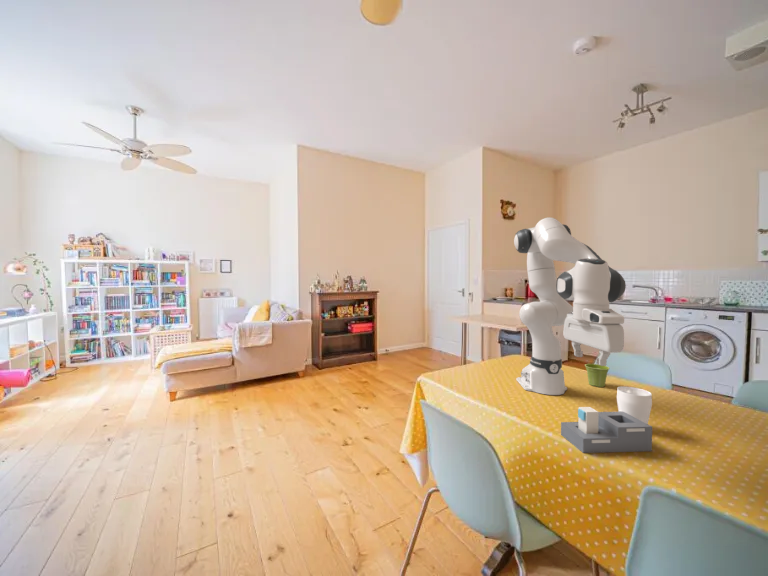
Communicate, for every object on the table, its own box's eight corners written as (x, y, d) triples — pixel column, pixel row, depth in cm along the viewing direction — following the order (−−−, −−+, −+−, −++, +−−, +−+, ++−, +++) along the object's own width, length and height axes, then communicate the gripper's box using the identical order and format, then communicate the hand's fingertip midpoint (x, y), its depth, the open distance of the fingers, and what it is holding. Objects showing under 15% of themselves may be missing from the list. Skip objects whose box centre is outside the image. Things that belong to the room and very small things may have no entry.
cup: (616, 418, 108) (617, 384, 107) (650, 426, 102) (651, 390, 102) (615, 427, 101) (616, 391, 100) (651, 436, 95) (652, 398, 95)
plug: (576, 436, 93) (576, 407, 93) (589, 436, 93) (589, 406, 93) (584, 442, 89) (585, 412, 89) (597, 442, 90) (598, 411, 89)
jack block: (560, 434, 96) (561, 412, 96) (622, 433, 97) (623, 411, 97) (583, 453, 86) (584, 428, 86) (652, 451, 87) (652, 426, 87)
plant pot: (580, 381, 147) (580, 363, 147) (600, 381, 146) (600, 363, 146) (592, 388, 138) (592, 369, 137) (614, 388, 137) (614, 369, 137)
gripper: (558, 310, 100) (557, 352, 101) (606, 318, 80) (605, 371, 80) (577, 310, 101) (576, 352, 101) (629, 318, 80) (628, 370, 81)
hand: (589, 360), depth 91 cm, fingers open, 8 cm apart
